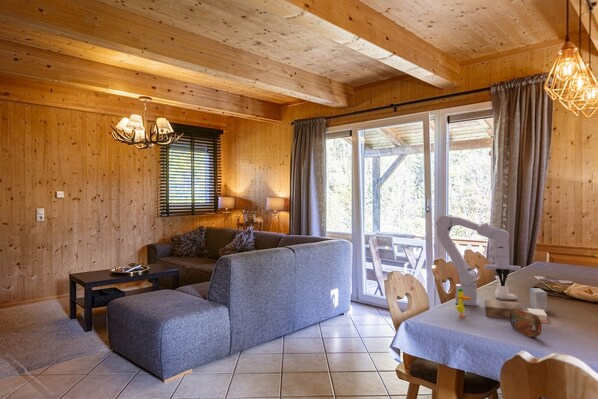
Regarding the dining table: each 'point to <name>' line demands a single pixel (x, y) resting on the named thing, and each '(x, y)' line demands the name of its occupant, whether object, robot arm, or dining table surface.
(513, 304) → the wooden block
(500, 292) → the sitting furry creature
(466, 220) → the robot arm
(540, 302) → the medicine box
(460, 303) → the toy figure
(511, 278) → the dining table surface
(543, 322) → the mat
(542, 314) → the thick cream tile
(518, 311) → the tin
